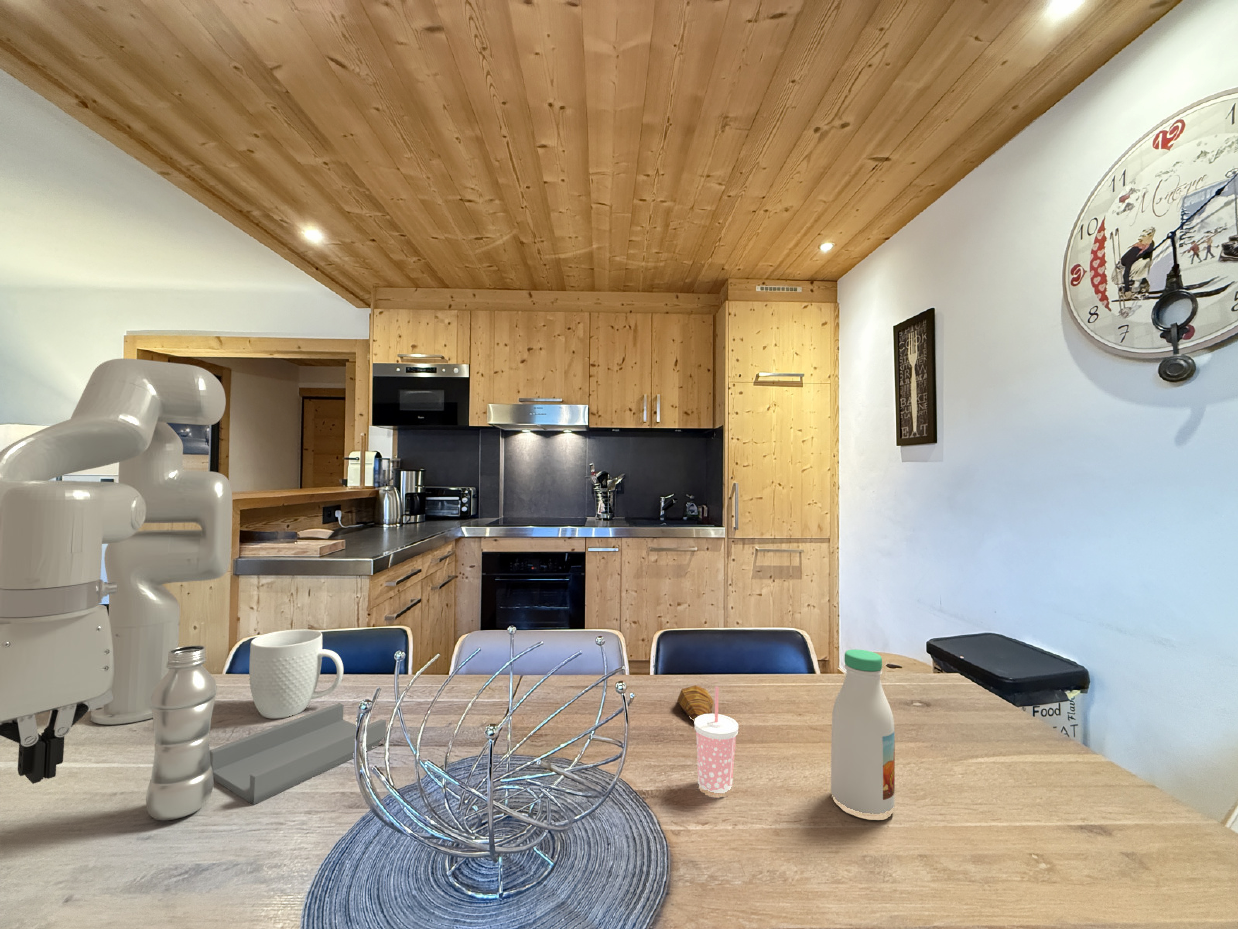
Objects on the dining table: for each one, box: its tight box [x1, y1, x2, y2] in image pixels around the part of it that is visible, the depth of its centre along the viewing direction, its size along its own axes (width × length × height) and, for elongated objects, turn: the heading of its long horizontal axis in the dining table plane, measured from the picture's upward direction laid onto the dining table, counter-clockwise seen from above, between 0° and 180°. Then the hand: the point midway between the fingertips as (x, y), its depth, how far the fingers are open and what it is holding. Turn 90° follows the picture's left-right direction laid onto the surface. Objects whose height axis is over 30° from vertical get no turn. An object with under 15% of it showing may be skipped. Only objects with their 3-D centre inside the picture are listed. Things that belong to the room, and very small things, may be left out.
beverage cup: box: [693, 685, 739, 793], centre depth 74 cm, size 6×6×14 cm
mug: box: [248, 628, 344, 720], centre depth 95 cm, size 15×11×13 cm
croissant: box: [676, 685, 714, 720], centre depth 99 cm, size 14×7×5 cm, turn 2°
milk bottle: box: [830, 649, 896, 814], centre depth 71 cm, size 8×8×20 cm
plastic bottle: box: [145, 644, 218, 821], centre depth 66 cm, size 6×7×20 cm
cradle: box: [210, 702, 387, 806], centre depth 79 cm, size 12×19×4 cm, turn 150°
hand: (40, 776), depth 56 cm, fingers closed
